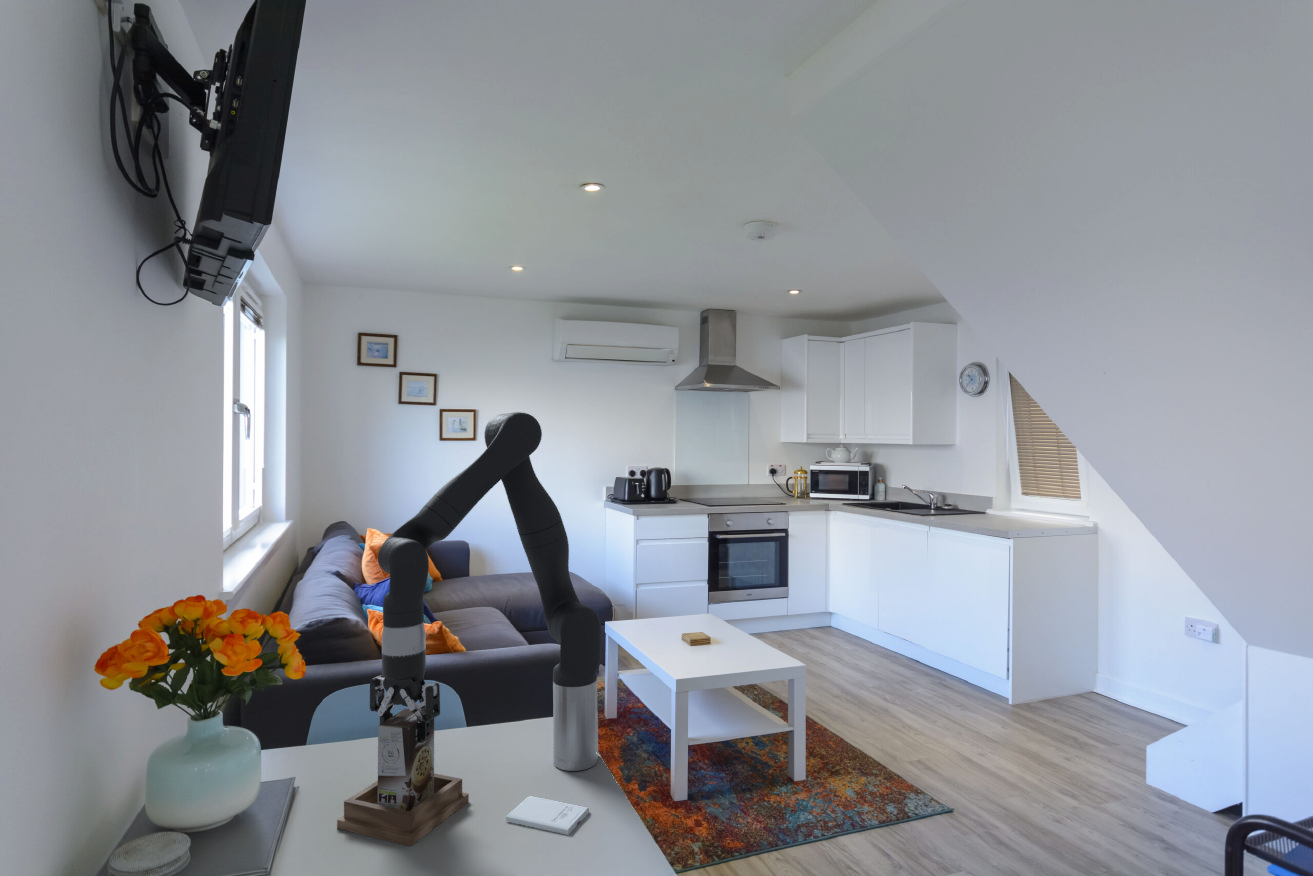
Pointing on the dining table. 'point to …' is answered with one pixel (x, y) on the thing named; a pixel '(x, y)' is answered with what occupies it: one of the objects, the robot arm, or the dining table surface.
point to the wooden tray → (402, 812)
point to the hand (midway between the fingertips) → (404, 738)
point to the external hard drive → (547, 815)
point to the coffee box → (404, 762)
